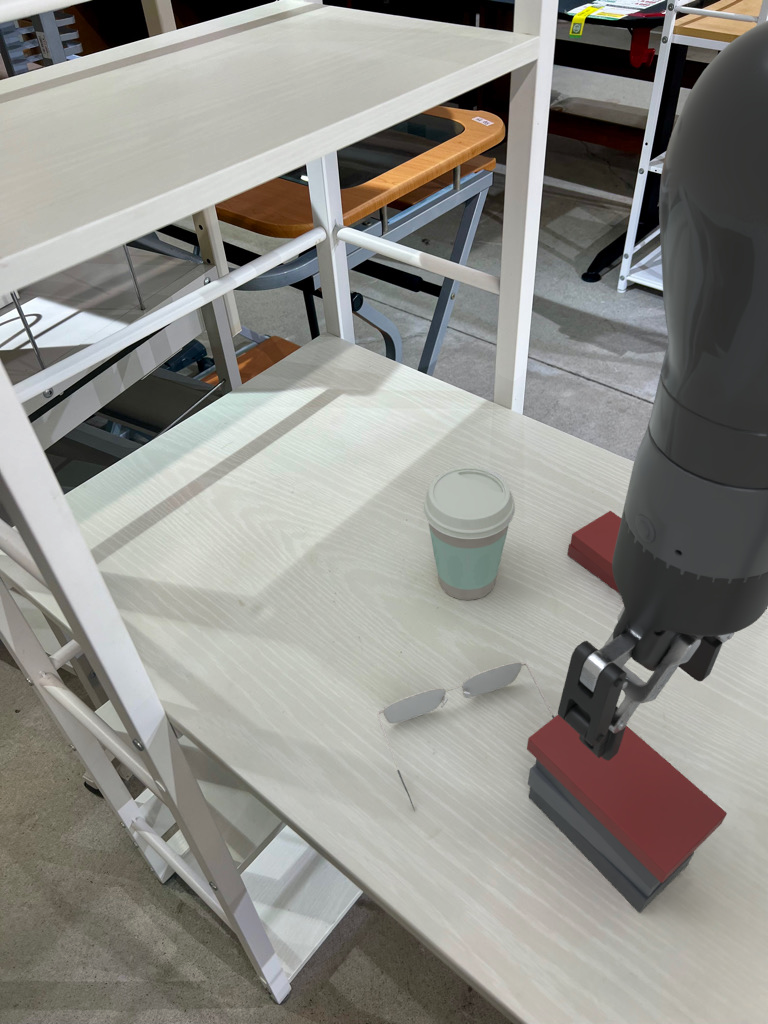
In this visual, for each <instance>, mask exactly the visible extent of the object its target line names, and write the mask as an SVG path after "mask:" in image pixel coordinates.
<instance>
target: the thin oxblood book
mask: <svg viewBox="0 0 768 1024" xmlns="http://www.w3.org/2000/svg"><path fill="white" fill-rule="evenodd" d="M579 736H580V734H578V733H577V732H576V731H575V730H574V729H573V728H572V727H571V726H570V725H569V724H568V723H567V722H566V721H565V720H563V719H562V718H561V717H560V716H559V715H558V714H557V715H555V716H554V718H552V719H551V720H549V721H548V722H547V723H545V724H544V725H542V727H540V728H539V729H538V730H537V731H535V732H534V733H533V734H532V735H530V736H529V737H528V739H527V746H526V749H527V751H528V752H529V753H530V754H531V755H532V756H533V757H534V758H535V760H536V759H537V760H538V761H539V762H540V763H541V764H542V765H543V766H544V767H545V768H546V769H547V770H548V771H549V772H550V773H551V774H552V775H553V776H554V777H555V778H556V779H557V780H558V781H559V782H560V783H561V784H562V785H563V786H564V787H565V788H566V789H567V790H568V791H569V792H570V793H571V794H572V795H573V796H574V797H575V798H576V799H577V800H578V801H579V802H580V803H581V804H582V805H583V806H584V807H585V808H586V809H587V810H588V811H589V812H590V813H591V814H592V815H594V816H595V817H596V818H597V819H598V820H599V821H600V822H601V823H602V824H603V825H604V826H605V827H606V828H607V829H608V830H609V831H610V832H611V833H612V834H613V835H614V836H615V837H616V838H617V839H618V840H619V841H620V842H621V843H622V844H623V845H624V846H625V847H626V848H627V849H628V850H629V851H630V852H631V853H632V854H633V855H634V856H635V857H636V858H637V859H638V860H639V861H640V862H641V863H642V864H643V865H644V866H645V867H646V868H647V869H648V870H649V871H650V872H651V873H652V874H653V875H654V876H655V877H656V878H657V879H658V880H659V881H660V882H661V883H663V882H664V881H665V880H666V879H667V878H668V877H669V876H670V875H671V874H672V873H673V872H674V871H675V870H676V869H677V868H678V867H679V866H680V865H681V864H682V863H683V862H684V861H685V860H686V859H687V858H688V857H689V856H690V855H691V854H692V853H693V852H694V853H695V851H696V850H697V849H698V848H699V847H700V846H702V844H703V843H704V842H705V841H706V840H707V839H708V838H709V837H710V836H712V834H713V833H714V832H715V831H716V830H717V829H718V828H719V827H720V826H721V825H722V824H723V822H724V820H725V818H726V816H727V814H728V813H727V811H725V810H724V809H723V808H722V807H721V806H719V805H718V803H716V801H714V800H713V799H712V798H710V797H709V796H708V795H707V794H706V793H705V792H703V791H702V789H700V788H699V787H698V786H696V784H694V783H693V782H692V781H691V780H690V779H689V778H687V777H686V776H685V775H684V774H683V773H682V772H681V771H680V770H678V769H677V768H676V767H675V766H673V764H671V763H670V762H669V761H668V760H667V759H665V757H664V756H662V755H661V754H660V753H658V751H656V750H655V749H654V748H653V747H652V746H650V745H649V744H648V743H647V742H646V741H645V740H643V739H642V738H641V737H640V736H639V735H638V734H637V733H636V732H635V731H634V730H632V729H631V728H630V727H629V726H627V725H626V728H625V731H624V735H623V738H622V741H621V744H620V748H619V751H618V753H617V754H616V755H615V756H614V757H613V758H611V759H610V760H609V761H607V760H605V759H603V758H602V757H600V758H598V757H597V756H596V755H595V754H594V753H593V752H592V751H591V750H589V749H588V748H587V747H586V746H585V745H584V744H583V743H582V742H581V741H580V739H579Z"/></svg>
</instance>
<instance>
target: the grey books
mask: <svg viewBox="0 0 768 1024" xmlns="http://www.w3.org/2000/svg"><path fill="white" fill-rule="evenodd" d="M527 785H528V786H529V792H528V798H529V799H530V800H531V802H533V804H535V805H536V807H537V808H539V810H540V811H541V813H543V814H544V815H545V816H546V817H547V818H548V819H549V820H550V821H551V822H552V823H553V825H554V826H555V827H556V828H558V829H559V831H560V832H561V833H562V834H563V835H564V836H565V837H566V838H567V839H568V840H569V841H570V842H571V843H572V844H573V845H574V846H575V847H576V849H578V851H580V853H581V854H582V855H583V856H584V857H585V858H586V859H587V861H588V862H590V863H591V864H592V865H593V866H594V868H595V869H597V871H599V873H601V875H602V876H603V877H604V878H605V879H606V880H607V881H608V882H609V883H610V884H611V885H612V886H613V888H614V889H616V890H617V892H618V893H620V894H621V896H622V897H623V898H624V899H625V900H626V901H627V902H628V903H629V904H630V905H631V906H632V907H633V908H634V909H635V910H636V911H637V912H638V914H641V913H642V912H643V911H645V909H646V908H647V907H648V906H649V905H651V903H653V901H654V900H655V899H656V898H657V897H658V896H659V895H660V894H661V893H662V892H663V891H664V890H665V889H666V888H667V887H668V886H669V885H670V884H671V883H672V882H673V881H674V880H675V879H676V878H677V877H678V876H679V875H680V874H681V873H682V872H683V871H684V870H685V869H686V868H687V867H688V865H689V863H690V862H691V860H692V858H693V856H694V854H695V851H694V852H693V853H692V854H691V855H690V856H689V857H688V858H687V859H686V860H685V861H684V862H683V863H682V864H681V865H680V866H679V867H678V868H677V869H676V870H675V871H674V872H673V873H672V874H671V875H670V876H669V877H668V878H667V879H666V880H665V881H664V882H663V883H661V882H660V881H659V880H658V879H657V878H656V877H655V876H654V875H653V874H652V873H651V872H650V871H649V870H648V869H647V868H646V867H645V866H644V865H643V864H642V863H641V862H640V861H639V860H638V859H637V858H636V857H635V856H634V855H633V854H632V853H631V852H630V851H629V850H628V849H627V848H626V847H625V846H624V845H623V844H622V843H621V842H620V841H619V840H618V839H617V838H616V837H615V836H614V835H613V834H612V833H611V832H610V831H609V830H608V829H607V828H606V827H605V826H604V825H603V824H602V823H601V822H600V821H599V820H598V819H597V818H596V817H595V816H594V815H592V814H591V813H590V812H589V811H588V810H587V809H586V808H585V807H584V806H583V805H582V804H581V803H580V802H579V801H578V800H577V799H576V798H575V797H574V796H573V795H572V794H571V793H570V792H569V791H568V790H567V789H566V788H565V787H564V786H563V785H562V784H561V783H560V782H559V781H558V780H557V779H556V778H555V777H554V776H553V775H552V774H551V773H550V772H549V771H548V770H547V769H546V768H545V767H544V766H543V765H542V764H541V763H540V762H539V761H538V760H537V759H536V758H535V763H534V765H532V766H531V767H530V768H529V772H528V779H527Z"/></svg>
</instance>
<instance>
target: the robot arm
mask: <svg viewBox="0 0 768 1024" xmlns="http://www.w3.org/2000/svg"><path fill="white" fill-rule="evenodd" d="M658 201H659V203H658V207H659V209H658V218H659V222H658V223H659V238H660V239H659V240H660V253H661V254H660V255H661V256H660V257H661V275H662V277H661V278H662V279H661V280H662V300H663V307H664V308H663V309H664V316H665V324H666V331H667V346H666V350H665V353H664V357H663V360H662V364H661V368H660V373H659V378H658V382H657V386H656V392H655V395H654V399H653V404H652V409H651V413H650V417H649V420H648V424H647V427H646V430H645V432H644V435H643V437H642V440H641V442H640V444H639V447H638V449H637V452H636V455H635V457H634V461H633V465H632V468H631V474H630V478H629V482H628V487H627V491H626V495H625V501H624V506H623V508H622V513H621V517H620V518H621V523H620V528H619V532H618V537H617V541H616V546H615V550H614V555H613V560H612V570H613V576H614V580H615V583H616V585H617V588H618V590H619V593H620V594H619V593H618V594H619V595H620V598H621V602H622V604H623V607H622V608H621V611H620V612H619V613H618V616H617V623H616V624H615V626H614V629H613V630H612V632H611V634H610V635H609V637H608V639H607V640H606V642H605V643H604V645H603V646H602V647H601V648H600V649H598V648H597V647H596V646H594V645H593V644H592V643H591V642H589V641H588V640H584V641H582V642H581V643H580V644H577V646H576V647H575V648H574V650H573V652H572V654H571V657H570V660H569V664H568V669H567V672H566V676H565V680H564V685H563V689H562V692H561V697H560V701H559V705H558V709H557V715H559V716H560V717H561V718H562V719H563V720H565V721H566V722H567V723H568V724H569V725H570V726H571V727H572V728H573V729H574V730H575V731H576V732H577V733H578V734H580V736H579V739H580V741H581V742H582V743H583V744H584V745H585V746H586V747H587V748H588V749H589V750H591V751H592V752H593V753H594V754H595V755H596V756H597V757H598V758H600V757H602V758H603V759H605V760H607V761H609V760H610V759H611V758H613V757H614V756H615V755H616V754H617V753H618V751H619V748H620V744H621V741H622V738H623V735H624V731H625V728H626V726H627V725H628V721H629V720H630V719H631V717H632V716H633V714H634V713H635V712H636V710H637V708H638V707H639V706H640V704H645V703H649V702H653V701H655V700H656V699H657V697H658V696H659V695H660V694H661V692H662V691H663V689H664V688H665V686H666V685H667V683H668V682H669V681H670V679H671V677H672V676H673V675H674V674H675V672H676V670H677V669H678V668H680V669H681V670H682V671H683V672H684V673H686V674H687V675H688V676H690V677H691V678H693V679H694V680H695V681H697V682H703V681H704V680H705V679H706V678H708V677H709V676H710V675H711V673H712V670H713V668H714V665H715V663H716V661H717V658H718V656H719V653H720V651H721V648H722V646H723V644H724V643H726V642H727V641H728V640H731V639H732V638H733V637H734V635H735V633H737V632H739V631H742V630H744V629H746V628H748V627H750V626H751V625H753V624H754V623H756V622H757V621H758V620H759V619H760V618H761V617H762V616H763V614H765V612H766V610H767V609H768V20H766V21H763V22H761V23H759V24H757V25H755V26H754V27H752V28H750V29H749V30H746V31H745V32H744V33H742V34H741V35H738V36H737V37H736V38H735V39H734V40H732V41H731V42H730V43H728V44H727V45H726V46H725V47H724V48H723V49H722V50H721V51H720V52H719V53H718V54H717V55H716V56H715V57H714V58H713V59H712V60H711V62H710V63H709V64H708V65H707V66H706V68H704V70H703V71H702V72H701V74H700V76H699V77H698V79H697V80H696V82H695V83H694V85H693V86H692V89H690V91H689V93H688V96H687V98H686V99H685V101H684V104H683V106H682V108H681V110H680V113H679V115H678V117H677V120H676V122H675V124H674V126H673V129H672V132H671V135H670V137H669V141H668V144H667V148H666V151H665V154H664V159H663V164H662V169H661V176H660V185H659V199H658ZM630 659H632V660H633V661H634V662H636V663H637V664H639V665H640V666H642V667H643V668H645V669H646V670H647V671H650V672H653V673H652V674H651V676H650V677H649V678H648V680H647V681H644V680H643V679H642V678H640V676H638V675H637V674H636V673H634V672H633V671H632V670H631V669H629V668H628V667H627V666H626V663H627V662H628V661H629V660H630ZM622 691H623V692H624V698H623V700H622V701H621V703H620V704H619V706H617V705H618V702H619V699H620V696H621V693H622Z"/></svg>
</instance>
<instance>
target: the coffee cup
mask: <svg viewBox="0 0 768 1024" xmlns="http://www.w3.org/2000/svg"><path fill="white" fill-rule="evenodd" d="M422 511H423V515H424V517H425V520H426V521H427V522H428V528H429V533H430V539H431V540H430V541H431V546H432V549H433V550H432V551H433V557H434V562H435V567H436V572H437V578H438V584H439V585H440V587H441V589H442V590H443V591H444V593H446V594H448V595H449V596H451V597H453V598H455V599H458V600H461V601H462V600H463V601H472V600H473V601H474V600H477V599H480V598H483V597H485V596H486V595H488V594H489V593H490V592H491V591H492V590H493V589H494V587H495V584H496V581H497V577H498V573H499V569H500V564H501V560H502V556H503V552H504V547H505V542H506V539H507V534H508V531H509V527H510V523H511V522H512V521H513V519H514V516H515V513H516V506H515V498H514V495H513V493H512V492H511V489H510V486H509V484H508V482H507V481H506V480H505V478H503V477H502V475H500V474H499V473H497V472H496V471H493V470H491V469H488V468H486V467H481V466H476V465H463V466H456V467H452V468H449V469H446V470H444V471H443V472H441V473H440V474H438V475H437V476H435V477H434V479H433V480H432V481H431V482H430V485H429V487H428V489H427V491H426V493H425V495H424V499H423V504H422Z"/></svg>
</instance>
